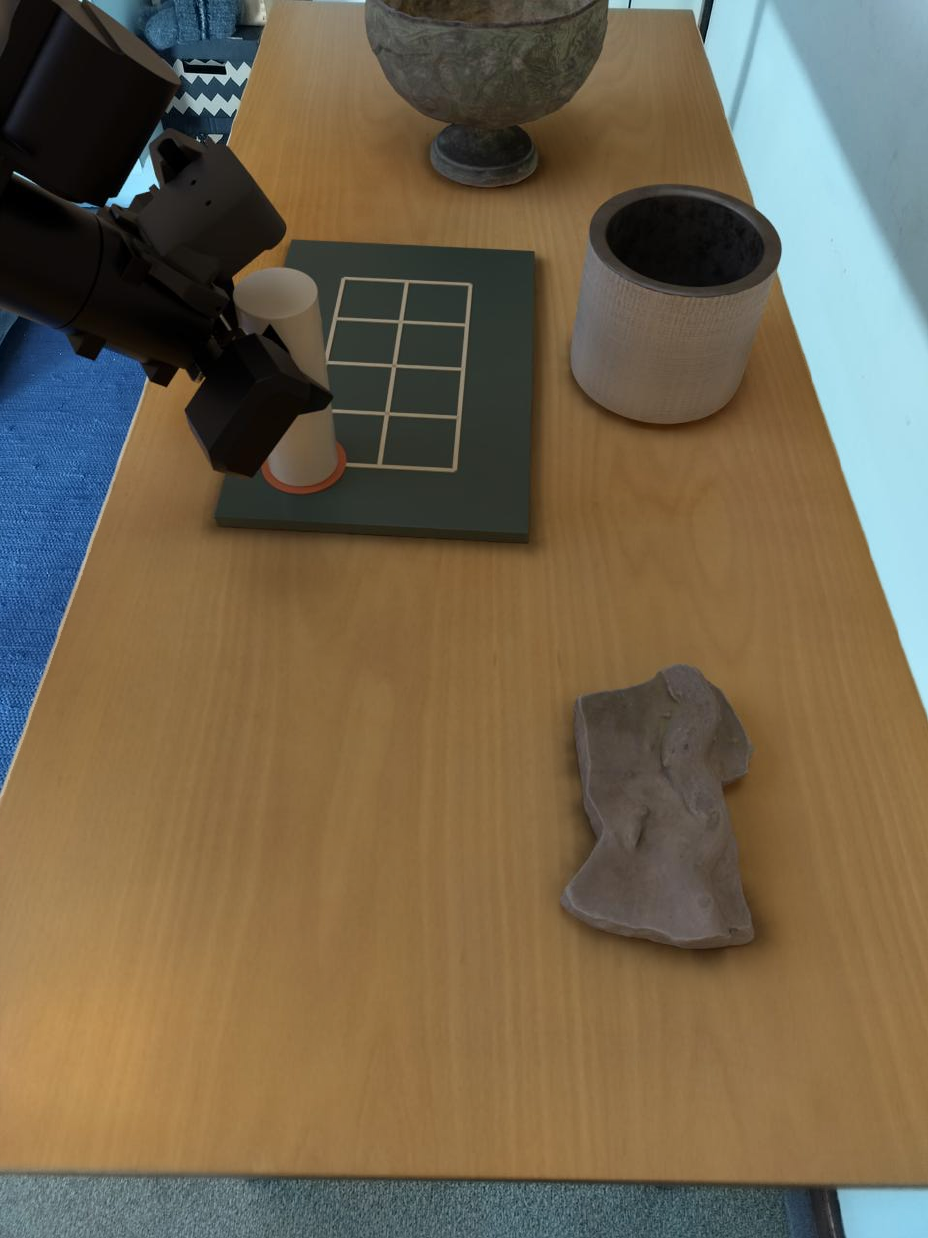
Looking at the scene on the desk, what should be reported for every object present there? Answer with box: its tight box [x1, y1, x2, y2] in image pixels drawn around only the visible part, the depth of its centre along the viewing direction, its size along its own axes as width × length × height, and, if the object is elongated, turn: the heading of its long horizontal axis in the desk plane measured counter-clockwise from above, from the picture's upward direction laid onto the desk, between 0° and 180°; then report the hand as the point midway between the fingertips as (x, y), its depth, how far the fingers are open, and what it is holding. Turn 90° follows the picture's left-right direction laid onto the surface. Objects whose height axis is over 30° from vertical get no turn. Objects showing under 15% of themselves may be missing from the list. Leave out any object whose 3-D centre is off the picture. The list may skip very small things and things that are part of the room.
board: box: [213, 238, 536, 544], centre depth 67 cm, size 20×30×1 cm, turn 177°
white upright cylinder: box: [233, 266, 338, 487], centre depth 55 cm, size 5×5×13 cm
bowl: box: [364, 0, 610, 188], centre depth 78 cm, size 20×19×15 cm
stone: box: [559, 663, 755, 950], centre depth 46 cm, size 15×10×4 cm, turn 173°
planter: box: [569, 183, 783, 425], centre depth 63 cm, size 13×13×11 cm
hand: (311, 376), depth 56 cm, fingers closed on white upright cylinder, 5 cm apart
